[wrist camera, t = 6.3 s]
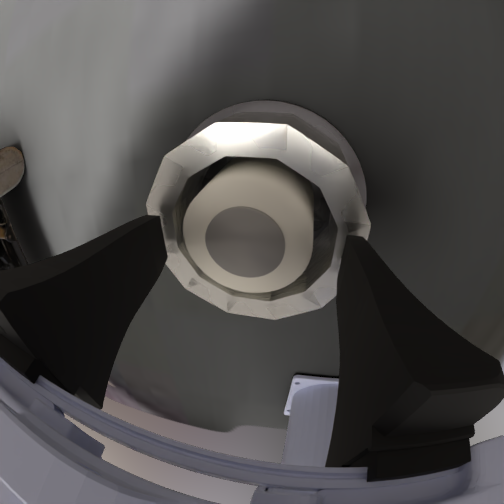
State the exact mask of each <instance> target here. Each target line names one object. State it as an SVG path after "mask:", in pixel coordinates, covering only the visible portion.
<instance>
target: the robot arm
mask: <svg viewBox="0 0 504 504" xmlns="http://www.w3.org/2000/svg"><path fill="white" fill-rule="evenodd" d="M167 258H168V255H167V250H166V245H165V240H164V235H163V230H162V225H161V219H160V216H157V215H145V216H142V217H139V218H137V219H135V220H132V221H130V222H128V223H126V224H124V225H122V226H120V227H118V228H116V229H113V230H111V231H109V232H107V233H106V234H104V235H101V236H99V237H97V238H95V239H93V240H91V241H89V242H87V243H85V244H83V245H81V246H78V247H76V248H74V249H72V250H69V251H67V252H64V253H62V254H59V255H56V256H54V257H51V258H48V259H45V260H42V261H39V262H36V263H32V264H29V265H25V266H21V267H17V268H13V269H7V270H2V271H0V504H219V503H215V502H210V501H207V500H203V499H199V498H196V497H192V496H189V495H186V494H183V493H180V492H177V491H174V490H171V489H168V488H165V487H162V486H160V485H157V484H155V483H152V482H150V481H147V480H145V479H143V478H140V477H138V476H136V475H133V474H131V473H129V472H127V471H125V470H123V469H120V468H118V467H116V466H114V465H112V464H110V463H109V462H107V461H105V460H103V459H102V457H101V455H102V453H103V451H104V448H105V447H104V445H103V444H101V443H100V442H98V441H97V440H95V439H94V438H92V437H91V436H89V435H88V434H86V433H85V432H83V431H82V430H81V429H79V428H78V427H77V426H76V425H74V424H73V423H72V422H70V421H69V420H68V419H66V418H65V417H64V413H65V414H66V415H68V416H70V417H71V418H73V419H75V420H76V421H78V422H80V423H81V424H83V425H85V426H87V427H88V428H90V429H92V430H94V431H96V432H98V433H99V434H101V435H103V436H105V437H107V438H109V439H111V440H114V441H116V442H117V443H120V444H122V445H124V446H126V447H128V448H131V449H133V450H135V451H138V452H140V453H142V454H145V455H147V456H150V457H152V458H155V459H158V460H160V461H163V462H166V463H169V464H172V465H174V466H177V467H180V468H184V469H187V470H190V471H194V472H197V473H201V474H204V475H208V476H212V477H216V478H220V479H224V480H229V481H233V482H238V483H244V484H249V485H255V486H258V487H257V488H256V490H255V492H254V494H253V496H252V499H251V501H250V504H504V436H499V437H496V438H493V439H489V440H486V441H483V442H480V443H477V444H475V445H473V446H470V442H469V438H471V437H473V436H474V434H475V430H474V424H475V423H476V422H477V421H479V420H480V419H481V418H482V417H484V416H485V415H486V414H488V413H489V412H490V411H491V410H493V409H494V408H495V407H496V406H497V405H498V404H499V403H500V402H501V401H502V399H503V398H504V374H503V371H502V368H501V364H500V362H499V361H498V360H497V359H495V358H494V357H492V356H490V355H489V354H487V353H486V352H484V351H482V350H481V349H479V348H477V347H476V346H474V345H473V344H471V343H470V342H469V341H467V340H466V339H464V338H463V337H462V336H460V335H459V334H457V333H456V332H455V331H454V330H452V329H451V328H450V327H448V326H447V325H446V324H445V323H444V322H442V321H441V320H440V319H439V318H438V317H436V316H435V315H434V314H433V313H432V312H431V311H430V310H428V309H427V308H426V307H425V306H424V305H423V304H422V303H421V302H420V301H419V300H418V299H417V298H416V297H415V296H414V295H413V294H412V293H411V292H410V291H409V290H408V289H407V288H406V287H405V286H404V285H403V284H402V282H401V281H400V280H399V279H398V278H397V277H396V276H395V275H394V273H393V272H392V271H391V270H390V269H389V268H388V266H387V265H386V264H385V263H384V261H383V260H382V259H381V258H380V257H379V255H378V254H377V253H376V252H375V250H374V249H373V248H372V247H371V245H370V244H369V243H368V242H367V240H366V239H365V238H364V237H362V236H355V235H347V236H346V241H345V246H344V250H343V255H342V259H341V264H340V268H339V272H338V277H337V294H336V304H337V317H338V330H339V344H340V371H339V379H338V378H325V377H315V376H305V375H295V376H294V377H293V380H292V383H291V387H290V391H289V395H288V399H287V403H286V406H285V410H284V414H285V415H289V422H288V428H287V434H286V440H285V446H284V451H283V456H282V462H281V464H279V463H272V462H265V461H258V460H253V459H247V458H241V457H236V456H231V455H227V454H223V453H218V452H214V451H210V450H206V449H203V448H199V447H195V446H192V445H188V444H185V443H182V442H179V441H176V440H173V439H170V438H167V437H164V436H161V435H158V434H155V433H152V432H150V431H147V430H145V429H142V428H140V427H137V426H134V425H132V424H130V423H128V422H125V421H123V420H121V419H118V418H116V417H114V416H112V415H110V414H108V413H106V412H104V411H101V409H102V407H103V401H104V397H105V392H106V388H107V384H108V380H109V377H110V374H111V370H112V367H113V364H114V361H115V358H116V355H117V353H118V350H119V348H120V345H121V342H122V340H123V338H124V336H125V333H126V331H127V329H128V327H129V325H130V323H131V321H132V319H133V317H134V316H135V314H136V312H137V311H138V309H139V308H140V306H141V304H142V303H143V301H144V300H145V298H146V297H147V295H148V293H149V292H150V290H151V289H152V287H153V286H154V284H155V282H156V281H157V279H158V278H159V276H160V274H161V272H162V270H163V267H164V265H165V263H166V261H167Z"/></svg>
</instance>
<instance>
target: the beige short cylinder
mask: <svg viewBox="0 0 504 504" xmlns="http://www.w3.org/2000/svg"><path fill="white" fill-rule="evenodd" d="M313 227H314V194H313V189H312V185H311V183H310V181H309V180H308V179H307V178H305V177H304V176H302V175H301V174H299V173H298V172H296V171H295V170H293V169H292V168H290V167H289V166H287V165H285V164H284V163H282V162H281V161H279V160H278V159H273V158H258V157H238V156H237V157H235V158H234V159H232V160H231V161H230V162H229V163H227V164H226V165H225V166H224V167H223V168H222V169H221V170H220V172H219V173H218V174H217V175H216V176H215V177H214V178H213V179H212V180H211V181H210V182H209V183H208V184H207V185H206V186H205V187H204V188H203V189H202V190H201V191H200V192H199V193H198V195H197V196H196V197H195V198H194V199H193V200H192V202H191V203H190V205H189V207H188V208H187V211H186V214H185V217H184V222H183V236H184V240H185V244H186V247H187V250H188V252H189V254H190V256H191V257H192V259H193V260H194V262H195V263H196V264H197V266H198V267H199V268H200V269H201V270H202V271H203V272H204V273H205V274H206V275H208V276H209V277H210V278H212V279H213V280H215V281H216V282H218V283H220V284H222V285H224V286H226V287H229V288H231V289H235V290H238V291H243V292H250V293H263V292H270V291H275V290H278V289H281V288H283V287H285V286H287V285H289V284H291V283H292V282H293V281H295V280H296V279H297V278H298V277H299V276H300V275H301V274H302V273H303V272H304V270H305V269H306V267H307V266H308V264H309V261H310V259H311V255H312V251H313Z"/></svg>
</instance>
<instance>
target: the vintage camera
mask: <svg viewBox="0 0 504 504" xmlns="http://www.w3.org/2000/svg"><path fill="white" fill-rule="evenodd" d="M23 174H24V159H23V156H22V153H21V151H19V150H18V149H16V148H15V147H5V148H3V149H1V150H0V271H2V270H7V269H13V268H17V267H21V266H25V265H28V263H27V261H26V258H25V256H24V254H23V252H22V249H21V247H20V245H19V243H18V240H17V238H16V236H15V233H14V231H13V228H12V225H11V223H10V220H9V217H8V214H7V211H6V209H5V206H4V203H3V201H2V198H1V197H2V196H3V195H5V194H6V193H7V192H9V191H10V190H12V189H13V188H15V187H16V185H17V184H18V183H19V182H20V181H21V178H22V176H23Z"/></svg>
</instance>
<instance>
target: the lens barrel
mask: <svg viewBox="0 0 504 504" xmlns="http://www.w3.org/2000/svg"><path fill="white" fill-rule="evenodd" d="M237 156H238V157H258V158H273V159H278V160H279V161H281V162H282V163H284V164H285V165H287V166H289V167H290V168H292V169H293V170H295V171H296V172H298V173H299V174H301V175H302V176H304V177H305V178H307V179H308V180H309V181H310V183H311V185H312V189H313V194H314V227H313V251H312V255H311V259H310V261H309V264H308V266H307V267H306V269H305V270H304V272H303V273H302V274H301V275H300V276H299V277H298V278H297V279H296V280H295V281H293V282H292V283H291V284H289V285H287V286H285V287H283V288H281V289H278V290H275V291H270V292H263V293H250V292H243V291H238V290H235V289H231V288H229V287H226V286H224V285H222V284H220V283H218V282H216V281H215V280H213V279H212V278H210V277H209V276H208V275H206V274H205V273H204V272H203V271H202V270H201V269H200V268H199V267H198V266H197V264H196V263H195V262H194V260H193V259H192V257H191V256H190V254H189V252H188V250H187V247H186V244H185V240H184V236H183V222H184V217H185V214H186V211H187V208H188V207H189V205H190V203H191V202H192V200H193V199H194V198H195V197H196V196H197V195H198V193H199V192H200V191H201V190H202V189H203V188H204V187H205V186H206V185H207V184H208V183H209V182H210V181H211V180H212V179H213V178H214V177H215V176H216V175H217V174H218V173H219V172H220V170H221V169H222V168H223V167H224V166H225V165H226V164H227V163H229V162H230V161H231V160H232V159H234V158H235V157H237ZM366 202H367V197H366V184H365V178H364V174H363V171H362V168H361V165H360V162H359V160H358V158H357V156H356V154H355V152H354V150H353V149H352V147H351V146H350V144H349V143H348V141H347V140H346V139H345V137H344V136H343V135H342V134H341V133H340V132H339V131H338V130H337V129H336V128H335V127H334V126H333V125H332V124H331V123H329V122H328V121H327V120H326V119H324V118H323V117H321V116H320V115H318V114H316V113H314V112H313V111H311V110H309V109H306V108H304V107H301V106H299V105H296V104H292V103H288V102H284V101H275V100H255V101H249V102H244V103H239V104H236V105H233V106H230V107H227V108H225V109H223V110H221V111H219V112H217V113H215V114H213V115H212V116H210V117H209V118H207V119H206V120H205V121H203V122H202V123H201V124H200V125H199V126H198V127H197V128H196V129H195V130H194V131H193V132H192V133H191V135H190V136H189V137H188V139H187V140H186V141H185V142H184V143H182V144H181V145H179V146H178V147H176V148H175V149H174V150H172V151H171V152H169V153H168V154H166V155H165V156H164V158H163V161H162V163H161V166H160V168H159V171H158V173H157V176H156V178H155V181H154V184H153V186H152V189H151V192H150V194H149V197H148V200H147V203H146V206H147V211H148V215H157V216H160V219H161V225H162V230H163V235H164V240H165V245H166V250H167V255H168V258H167V261H166V265H167V266H168V267H169V269H170V270H171V271H172V272H173V274H174V275H175V276H176V277H177V279H178V280H179V281H180V282H181V284H182V285H183V286H184V287H185V289H187V290H189V291H190V292H192V293H194V294H196V295H197V296H199V297H201V298H203V299H204V300H206V301H208V302H210V303H211V304H213V305H215V306H217V307H219V308H220V309H222V310H224V311H226V312H228V313H234V314H240V315H246V316H253V317H260V318H267V319H274V320H276V319H280V318H285V317H289V316H293V315H297V314H301V313H305V312H309V311H312V310H316V309H320V308H322V307H323V306H325V305H326V304H327V303H328V302H329V301H330V300H332V299H333V298H334V297H335V296H336V294H337V277H338V272H339V268H340V264H341V259H342V255H343V250H344V246H345V241H346V236H347V235H355V236H362V237H364V238H365V239H366V240H368V236H369V232H370V227H371V223H370V220H369V217H368V215H367V212H366Z"/></svg>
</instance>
